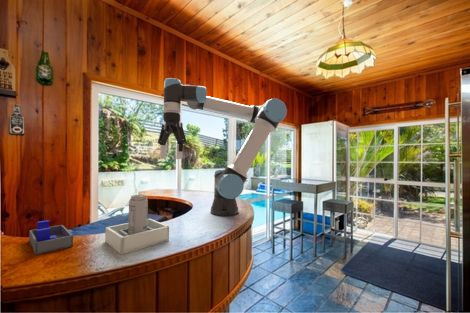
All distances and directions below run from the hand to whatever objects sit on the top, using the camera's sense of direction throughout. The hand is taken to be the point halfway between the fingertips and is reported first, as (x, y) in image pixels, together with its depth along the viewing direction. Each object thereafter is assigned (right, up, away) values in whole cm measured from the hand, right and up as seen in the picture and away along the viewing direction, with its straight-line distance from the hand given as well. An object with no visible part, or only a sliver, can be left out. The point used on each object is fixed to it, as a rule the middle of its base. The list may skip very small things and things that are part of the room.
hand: (170, 158), depth 102 cm
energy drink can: (-4, -28, -25) cm, 38 cm away
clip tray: (-32, -28, -29) cm, 51 cm away
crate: (-4, -28, -25) cm, 38 cm away
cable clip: (-32, -28, -30) cm, 52 cm away
